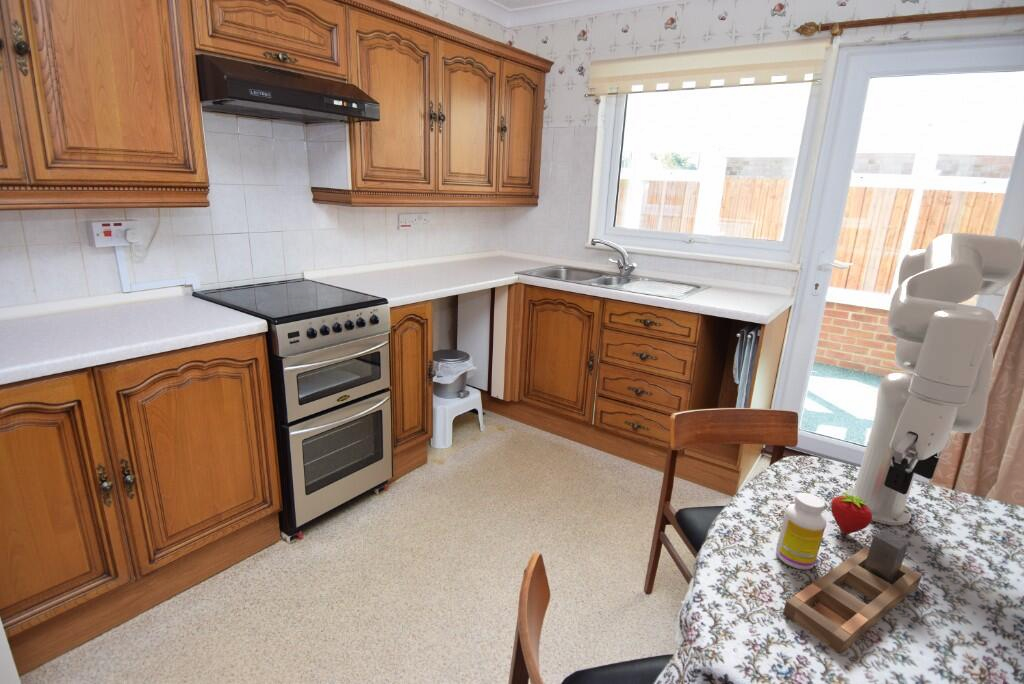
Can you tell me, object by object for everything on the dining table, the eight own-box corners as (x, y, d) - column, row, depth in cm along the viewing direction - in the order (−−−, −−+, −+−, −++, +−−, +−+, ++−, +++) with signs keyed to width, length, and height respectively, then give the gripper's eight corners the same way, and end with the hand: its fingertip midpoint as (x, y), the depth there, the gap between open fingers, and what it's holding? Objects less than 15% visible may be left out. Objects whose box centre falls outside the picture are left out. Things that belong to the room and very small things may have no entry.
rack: (863, 556, 102) (867, 545, 101) (917, 586, 95) (922, 574, 94) (783, 613, 87) (786, 600, 86) (840, 654, 80) (844, 640, 79)
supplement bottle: (819, 574, 96) (837, 513, 93) (780, 567, 98) (796, 507, 94) (807, 550, 103) (823, 492, 99) (771, 544, 104) (785, 486, 100)
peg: (870, 570, 99) (884, 528, 96) (894, 583, 95) (909, 541, 93) (860, 577, 96) (873, 535, 94) (884, 592, 93) (899, 549, 91)
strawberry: (853, 548, 104) (867, 504, 101) (817, 526, 111) (829, 484, 108) (871, 541, 107) (885, 498, 104) (835, 519, 113) (847, 478, 110)
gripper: (934, 372, 92) (905, 460, 98) (888, 388, 83) (859, 484, 88) (988, 388, 86) (955, 480, 92) (945, 407, 77) (910, 508, 82)
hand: (908, 482), depth 90 cm, fingers open, 9 cm apart
